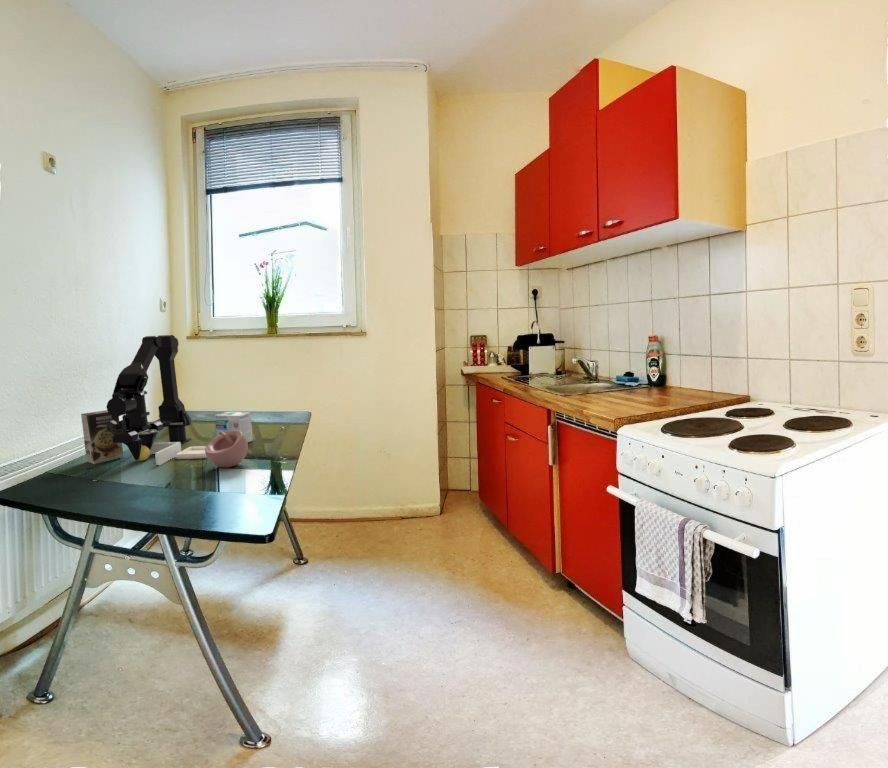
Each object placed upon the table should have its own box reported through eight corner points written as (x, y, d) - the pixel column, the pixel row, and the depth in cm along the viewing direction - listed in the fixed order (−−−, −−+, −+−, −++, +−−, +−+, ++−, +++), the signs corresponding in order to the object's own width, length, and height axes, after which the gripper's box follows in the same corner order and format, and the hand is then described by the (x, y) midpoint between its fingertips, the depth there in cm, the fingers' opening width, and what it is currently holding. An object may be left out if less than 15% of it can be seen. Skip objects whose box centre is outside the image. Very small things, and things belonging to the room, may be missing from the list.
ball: (139, 458, 172) (137, 444, 171) (154, 458, 172) (152, 443, 171) (129, 463, 167) (128, 447, 166) (145, 462, 167) (143, 447, 166)
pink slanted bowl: (198, 470, 156) (194, 432, 154) (231, 459, 166) (227, 424, 165) (225, 474, 150) (221, 435, 149) (258, 463, 160) (254, 426, 159)
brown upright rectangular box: (93, 464, 167) (87, 415, 165) (86, 461, 171) (79, 413, 169) (124, 457, 174) (118, 410, 172) (116, 455, 178) (110, 408, 176)
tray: (190, 451, 179) (190, 446, 179) (219, 450, 179) (219, 445, 179) (175, 459, 169) (175, 454, 169) (206, 458, 169) (205, 453, 169)
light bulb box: (216, 444, 188) (213, 414, 187) (229, 439, 195) (226, 411, 193) (241, 445, 185) (238, 415, 184) (253, 440, 192) (251, 411, 190)
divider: (146, 454, 177) (144, 443, 176) (182, 453, 177) (181, 441, 176) (119, 467, 163) (117, 454, 162) (158, 465, 162) (157, 453, 162)
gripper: (128, 406, 177) (134, 450, 179) (91, 417, 158) (98, 466, 160) (161, 404, 176) (166, 449, 179) (127, 415, 158) (134, 465, 160)
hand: (141, 457), depth 169 cm, fingers closed on ball, 5 cm apart
